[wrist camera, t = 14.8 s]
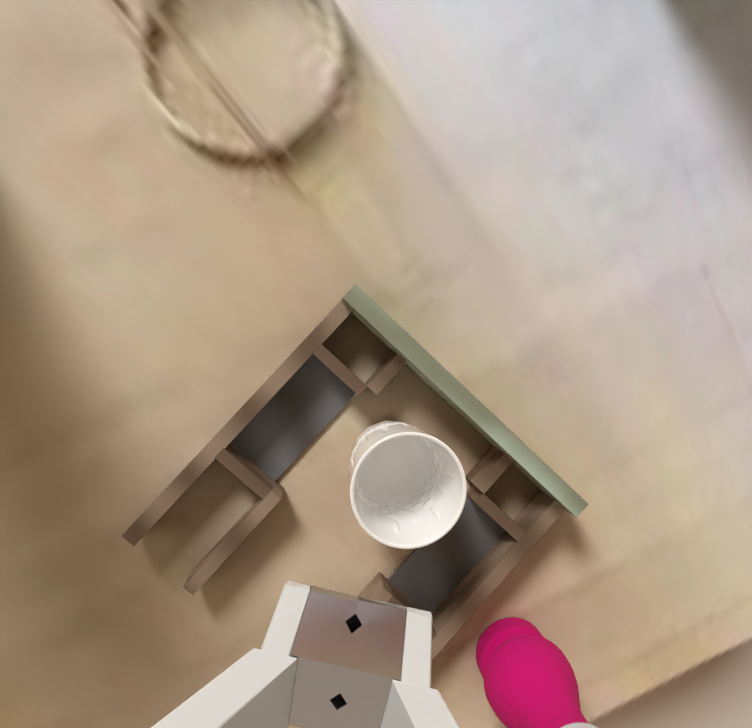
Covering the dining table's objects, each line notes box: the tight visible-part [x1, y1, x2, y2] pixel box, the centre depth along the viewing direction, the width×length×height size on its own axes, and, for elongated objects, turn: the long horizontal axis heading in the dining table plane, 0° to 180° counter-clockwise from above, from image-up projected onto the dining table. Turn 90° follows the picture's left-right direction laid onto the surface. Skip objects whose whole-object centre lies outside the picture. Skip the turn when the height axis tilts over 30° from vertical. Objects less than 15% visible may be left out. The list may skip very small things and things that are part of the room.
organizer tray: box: [122, 284, 588, 661], centre depth 42 cm, size 26×25×5 cm
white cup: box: [349, 420, 467, 549], centre depth 40 cm, size 8×8×10 cm
